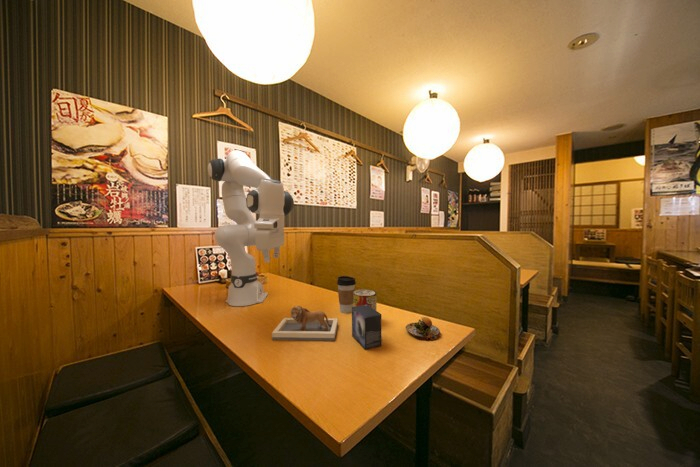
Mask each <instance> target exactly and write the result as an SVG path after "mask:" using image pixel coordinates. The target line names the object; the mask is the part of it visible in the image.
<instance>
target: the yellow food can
mask: <svg viewBox="0 0 700 467" xmlns="http://www.w3.org/2000/svg"><path fill="white" fill-rule="evenodd" d="M353 300H354V305H353V307H355V306H361V305H366V304H367V305H368V306H370V307H371V308H373V309H374V310H376V311H377V292H376V291H375V290H372V289H358V290H357V289H356V290H355V291H354V292H353Z"/></svg>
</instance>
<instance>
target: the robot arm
mask: <svg viewBox="0 0 700 467" xmlns="http://www.w3.org/2000/svg"><path fill="white" fill-rule="evenodd" d="M207 173H208V175H209V177H210V179H211V180H212V181H216V182H222V185H221V197H222V198H221V199H222V203H223V208H224V213H225V216H226V217H227V218H228V219H229V220H230V221H233V222H234V223H236V224H225V225H221V226H218V227H217V228H216V229H215V232H214V240H215V243H216V244H217V245H218V246H219V247H220V248H222V249H223V250H225V252H226V253H227V255H228V257H229V259H230V267H231V270H230V271H231V274H230V284H229V285H228V295H227V299H226V300H225V303H227V304H228V305H229V306H232V307H246V306H251V305H255V304H260V303H264V301H265V299H266V298H267V297H268V295H269V294H268V292H267V291H264V285H263V284H262V283H261V282H260V281H259V280H258V277H259V275H260V274H259V273H260V272H256V267H257V266H256V258H255V257H254V256H253V255H252V254H251V253H248V252H247V251H246V249H245V247H251V246H252V247H256V248H255V249H256V251H258V252H261V253H262V256H263V263H264V264H265V263H267V264H268V263H270V262H271V256H270V252H271V250H274V251H273V253H272V254H273V255H272V257H273V259H278V258H279V257H280V251H281V247H282V246H284V244H285V229H284V228H285V217H287V215H289V214H290V213H291V212H292V211H293V210H294V207H295V202H294V198H293V196H292V195H291V193H290V192H289V191H286V190H284V189H285V188H284V184H283V182H282V181H280V180H279V179H278V180H277V179H273V178H272V176H270V175H269V174H268V173H266V172H265V171H263V170H261V168H259V166H257V165H256V164H255V163H254V162H253V160H252V159H251V157H249V156H248V155H247V154H246V153H245V152H243V151H241V150H237V149H235V150H232V151H230V152H228V154H227V155H226V158H213V159H211V160H210V161H208V164H207ZM244 186H245V187H250V188H254V189H251V190H250V191H249V192H248V193H247V194H245V190H244ZM252 214H256V215H259V218H258V219H257V220H256V218H255V217H254V216H253V215H252Z"/></svg>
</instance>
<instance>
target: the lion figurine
mask: <svg viewBox="0 0 700 467" xmlns="http://www.w3.org/2000/svg"><path fill="white" fill-rule="evenodd" d="M290 318H293V319H294V320H296V321H297V322H298V323H302V327H301V329H303V330H301V331H305V330H306V323H307V322H314V321H316V320H318V321H319V322H320V326H318V328H321V327H322V325H324V326H325V327H326V328H325V329H324V331H328V326H329V327H332V325H330V324H329V322H328V316H327V314H326V313H325V312H324V311H323V310H316V311H310V310H309V309H307V308H305V307H302V306H300V305H294V306H293V307H291V308H290ZM324 318H326V321H327V323H326V322H325V320H324ZM327 324H328V325H327Z"/></svg>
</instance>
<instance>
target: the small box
mask: <svg viewBox="0 0 700 467" xmlns="http://www.w3.org/2000/svg"><path fill="white" fill-rule="evenodd" d="M351 337H352V338H354V340H355V341H357V343H358V344H359V345H360V346H361V347H362V348H363V350H364V351H365V350H366V351H367V350H370V349H371V350H372V349H375V348H379V347H382V345H383V344H382V314H381V313H380V312H379V311H377V309H376V310H374V309H373V308H371V307H370V306H368V305H367V304H366V305H361V306H355V307H354V306H353V307H352V312H351Z"/></svg>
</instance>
